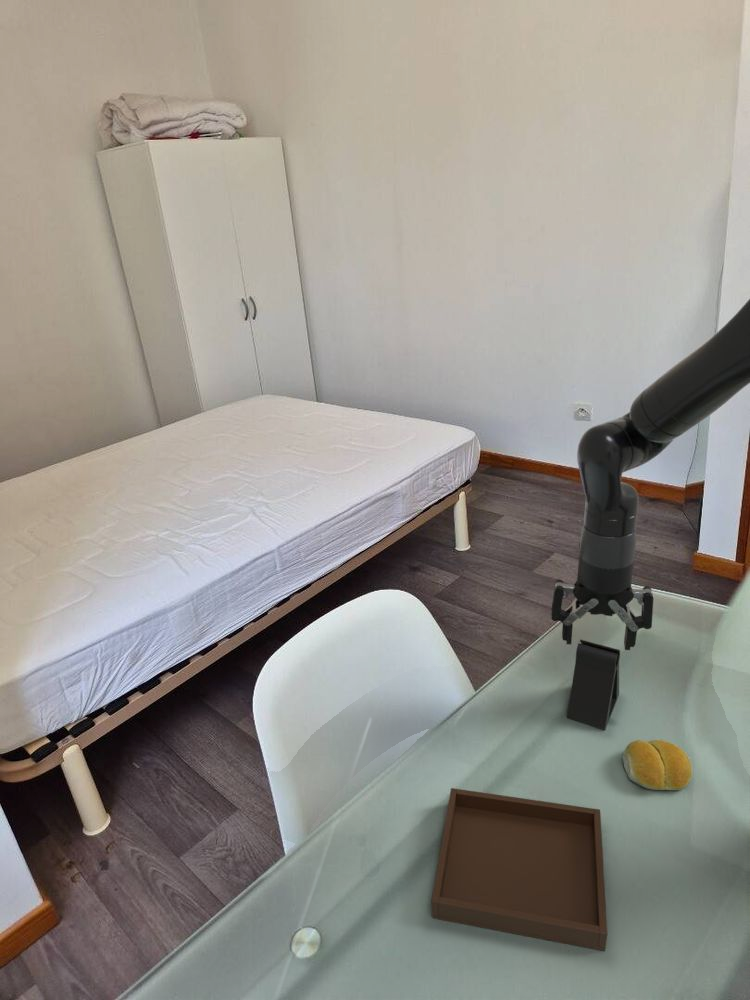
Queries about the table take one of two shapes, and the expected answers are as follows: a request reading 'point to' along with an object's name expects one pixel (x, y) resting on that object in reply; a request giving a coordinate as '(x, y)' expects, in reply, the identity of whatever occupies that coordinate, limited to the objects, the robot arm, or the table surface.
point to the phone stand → (594, 684)
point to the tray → (522, 868)
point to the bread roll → (657, 765)
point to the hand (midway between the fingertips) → (597, 644)
